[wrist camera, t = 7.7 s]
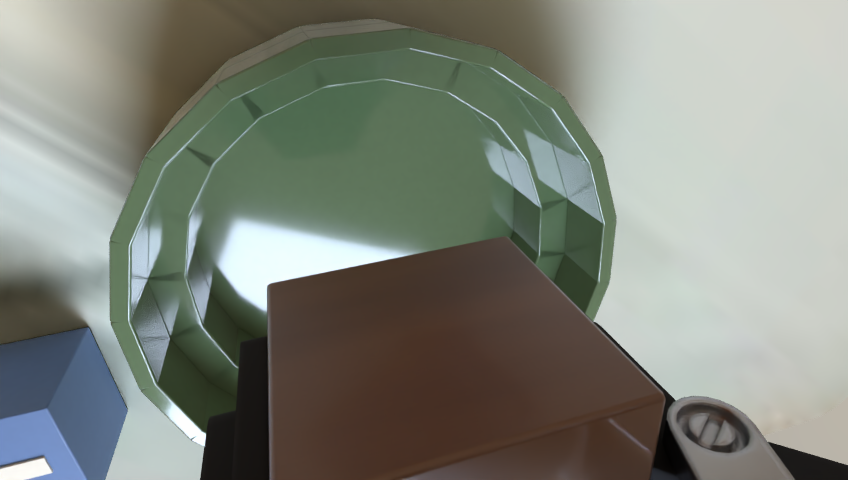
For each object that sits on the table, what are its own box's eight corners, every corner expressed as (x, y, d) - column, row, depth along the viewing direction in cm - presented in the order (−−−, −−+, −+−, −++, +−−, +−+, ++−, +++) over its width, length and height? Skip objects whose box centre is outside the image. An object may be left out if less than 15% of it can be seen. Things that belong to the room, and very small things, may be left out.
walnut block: (265, 282, 10) (268, 522, 5) (507, 233, 11) (676, 401, 6) (311, 461, 12) (339, 733, 8) (507, 407, 13) (631, 618, 9)
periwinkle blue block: (-43, 353, 21) (-124, 449, 17) (89, 326, 22) (45, 410, 18) (11, 438, 23) (-48, 542, 19) (128, 410, 24) (98, 502, 20)
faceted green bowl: (75, 47, 18) (-3, 71, 13) (550, -1, 22) (640, 2, 16) (214, 423, 26) (201, 530, 21) (538, 341, 30) (595, 415, 25)
